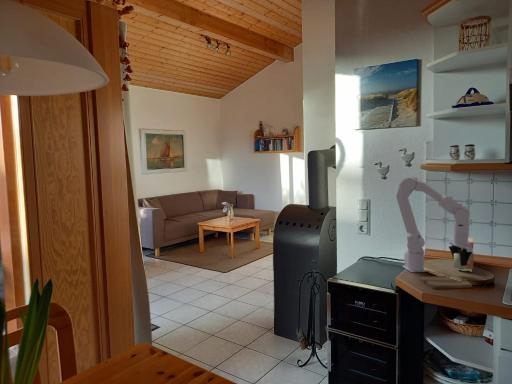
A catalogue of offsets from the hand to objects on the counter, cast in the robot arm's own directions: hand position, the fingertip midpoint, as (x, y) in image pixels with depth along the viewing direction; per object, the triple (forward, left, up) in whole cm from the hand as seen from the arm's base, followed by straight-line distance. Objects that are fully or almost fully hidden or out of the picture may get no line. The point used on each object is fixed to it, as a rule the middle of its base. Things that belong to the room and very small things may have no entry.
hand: (459, 263), depth 174 cm
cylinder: (0, 0, -2) cm, 2 cm away
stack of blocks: (-14, +11, -6) cm, 19 cm away
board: (+9, -12, -5) cm, 16 cm away
